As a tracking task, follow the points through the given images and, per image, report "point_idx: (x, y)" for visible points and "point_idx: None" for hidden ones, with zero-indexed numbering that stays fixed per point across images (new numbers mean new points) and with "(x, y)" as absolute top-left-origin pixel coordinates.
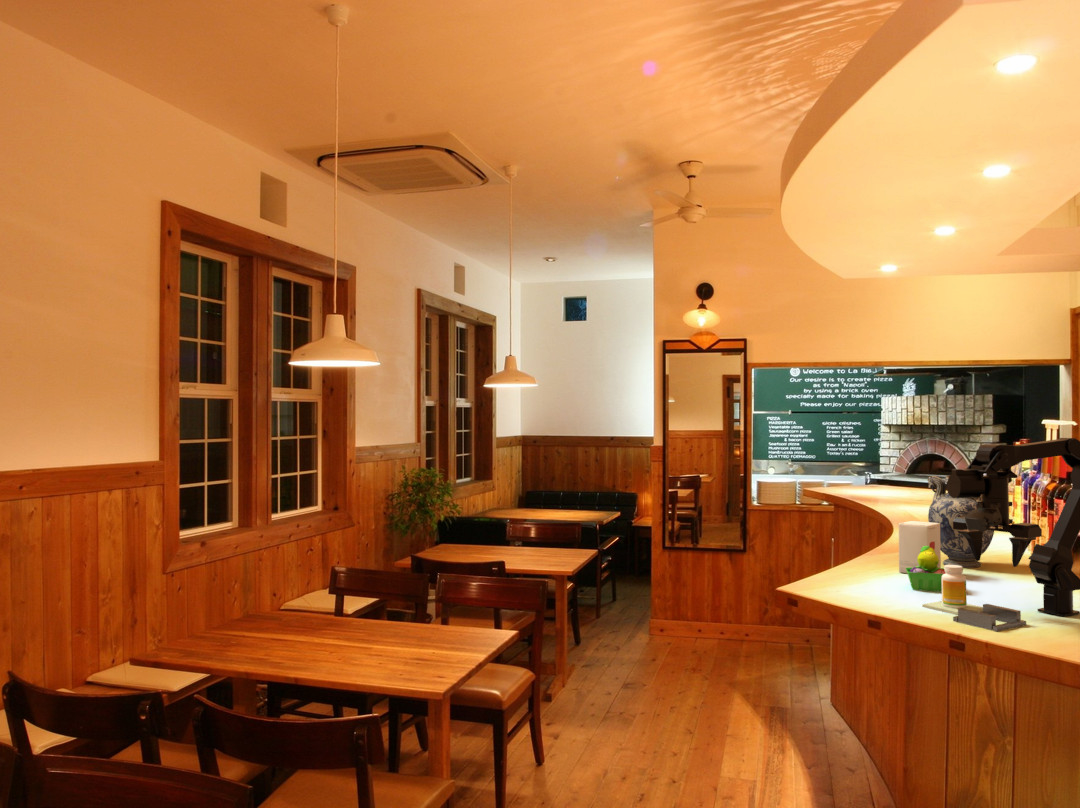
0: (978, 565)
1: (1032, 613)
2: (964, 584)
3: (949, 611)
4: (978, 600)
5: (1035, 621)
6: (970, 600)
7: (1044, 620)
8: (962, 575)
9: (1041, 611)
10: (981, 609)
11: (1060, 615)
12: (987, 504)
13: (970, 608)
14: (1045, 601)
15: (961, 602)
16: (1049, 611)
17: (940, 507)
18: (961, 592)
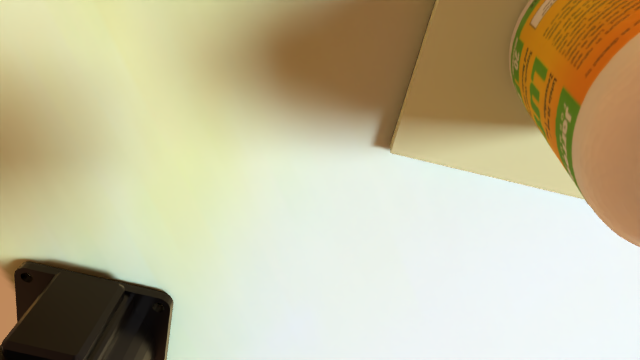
0: None
1: (170, 242)
2: (567, 94)
3: None
4: (511, 356)
5: (47, 49)
6: (550, 332)
7: (35, 117)
8: (633, 176)
9: (146, 290)
10: (406, 97)
11: (42, 265)
12: None
13: (472, 51)
14: (87, 320)
15: (541, 5)
16: (90, 277)
17: None
18: (567, 27)
